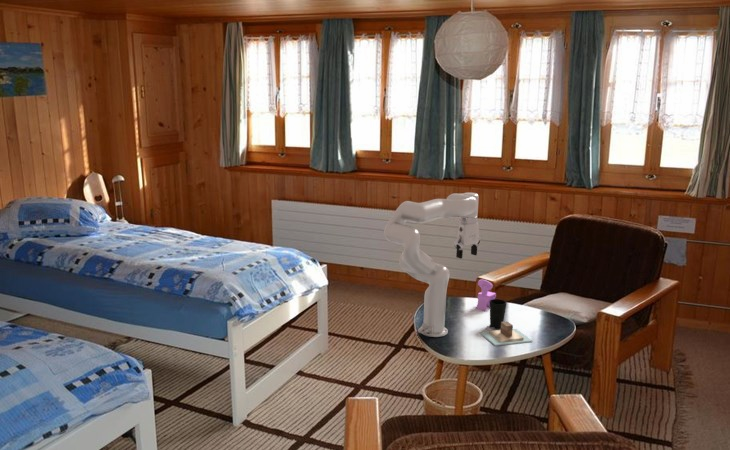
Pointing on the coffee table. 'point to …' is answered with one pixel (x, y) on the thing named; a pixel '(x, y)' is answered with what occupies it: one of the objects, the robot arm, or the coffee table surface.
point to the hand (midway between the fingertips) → (466, 256)
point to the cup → (497, 312)
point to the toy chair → (485, 295)
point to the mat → (497, 343)
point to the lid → (506, 333)
